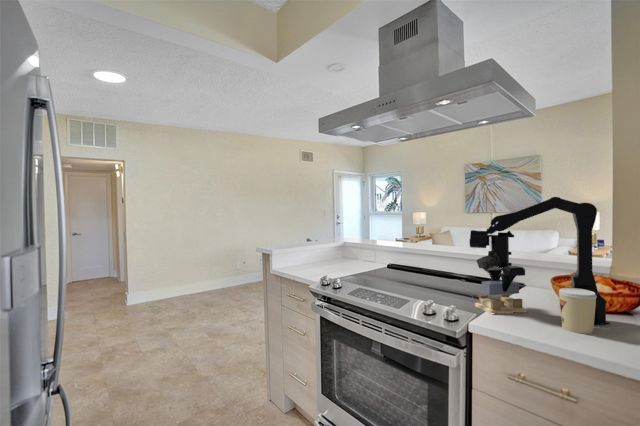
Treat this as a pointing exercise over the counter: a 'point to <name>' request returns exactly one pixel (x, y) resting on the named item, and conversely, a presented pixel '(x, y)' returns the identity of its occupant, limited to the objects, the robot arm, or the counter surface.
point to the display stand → (500, 304)
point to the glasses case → (499, 288)
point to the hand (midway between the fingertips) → (500, 289)
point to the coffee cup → (577, 309)
